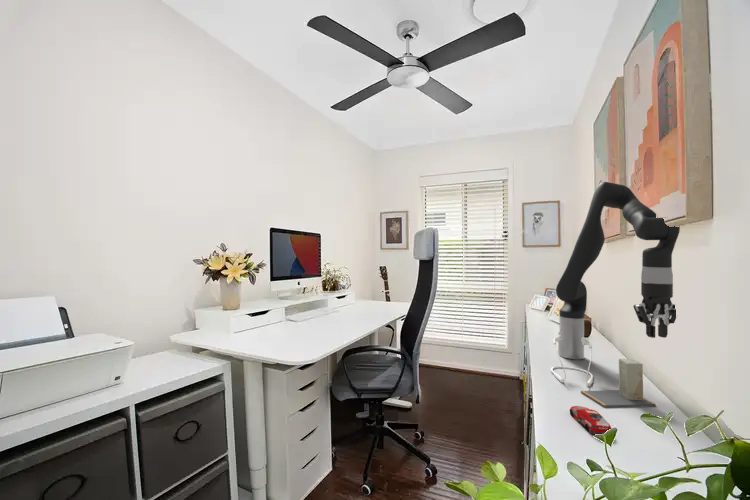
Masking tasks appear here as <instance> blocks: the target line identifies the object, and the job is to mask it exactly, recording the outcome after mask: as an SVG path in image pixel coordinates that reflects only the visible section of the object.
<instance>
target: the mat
mask: <svg viewBox="0 0 750 500" xmlns="http://www.w3.org/2000/svg"><path fill="white" fill-rule="evenodd" d="M580 393H581V394H582V395H583V396H585V397H586V398H588V399H589V400H592V401H593V402H594V403H596V404H598V405H599V406H601V407H603V408H629V407H631V408H632V407H633V408H635V407H638V408H639V407H656V403H655V402H653V401H651V400H649V399H647V398H645V397H644V396H643V400H628V399H627V398H625V397H624V396H622V395H621V394H620V393H619V389H615V390H612V389H611V390H606V389H605V390H580Z"/></svg>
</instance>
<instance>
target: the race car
mask: <svg viewBox="0 0 750 500" xmlns="http://www.w3.org/2000/svg"><path fill="white" fill-rule="evenodd" d="M569 414H570V416H571V417H572V418H573V419H575V420H576V421H577V422H578V423H579V424H580V425H581V426H582V427H583V428H584V429H585V431H587V432H588V433H589V434H593V435H594V434H604V433H605V432H606V431H607V430H609V429H612V427H611V425H610V423H609V422H608V421H607V420H606V419H605V418H604V416H603V415H601V413H599V412H598V411H597V410H595V409H593V408H592V409H591V408H589V407H585V406H579V405H573V406H571V407H570V409H569Z"/></svg>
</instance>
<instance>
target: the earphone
mask: <svg viewBox="0 0 750 500" xmlns="http://www.w3.org/2000/svg"><path fill="white" fill-rule="evenodd" d="M562 339H563V338H562V336H561V335H559V334H558V335H556V336H555V337H553V340H552V343H553V345H554V348H555V351H556V355H557V357H558V360H559V362H560V365H559V366H557V365H556V366H552V367H550V372H551V373H552V374H553V375H554V377H555V378H556V379H557V381H559V382H560V383H562V384H563V383H565V381H566V379H567V377H566V374H567V373H566V370H565V369H567V370H575V371H578V372H579V371H580V372H582V373H586V378H585V379H586V380H585V382H586V386H587V387H591V386H592V384H593V383H594V380H593V379H594V375H593V374H592V373H591V372H590V367H591V365H592V355H593V354H592V353H593V351H592V348H593V345H592V343H591V341H589V340H588V339H587V338H585V337H584V338H582V339H581V341H582V343H583V345H584V346H588V348H589V350H590V360H589V364H588V367H587V370H585V369H582V368H577V367H571V366H564V365H563V362H562V360H561V358H560V357H561V356H560V355H559V353H558V349H557V346H556V345H557V343H558V342H561V340H562ZM554 369H563V373H564V379H563V378H562V376H560V375H559V374H558V373H556V372H555V371H554ZM588 375H590V378H588V377H589V376H588Z"/></svg>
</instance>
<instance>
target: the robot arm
mask: <svg viewBox="0 0 750 500" xmlns="http://www.w3.org/2000/svg"><path fill="white" fill-rule="evenodd" d="M604 207H607V208H610V209H619V210H622V212H621V213H622V217H623V218H624V219H625V220H626V221H627V222H628V223H629V224H630V225H631V226H632V228H633V230H634V233H635V236H636V237H637V238H639V239H640V240H644V241H658V243H657V245H656V246H652V247H649V248H645V249H644V250H643V251H642V255H641V257H642V259H641V260H642V261H641V262H642V263H641V265H642V267H641V274H640V279H641V282H640V283H641V284H640V285H641V289H640V290H641V293H640V294H641V296H642V300H641V303H639V304H634V305H633V307H632V308H634V312H635V315H636V316H637V319H638V321H639V322H640V323H642V324H645V335H646V336H647V338H651V339H655V338H656V326H655V325H656V321H657V323H658V324H657V336H658V337H659V338H667V337H668V334H669V333H668V327H669V325H670V324H675V322H676V319H677V317H676V309H675V305H676V304H674V303H672V302H673V301H672V298H673V296H674V277H673V276H674V275H673V268H672V267H673V262H672V261H673V259H672V258H673V257H672V256H673V252H674V249H675V246H676V243H677V240H678V237H679V235H680V231H681V229H680V228H681V227H680V226H679V227H675V226H674V227H669V226H667V225H666V224H665V223H664V219H663V218H664V217H657V218H656V215H657V213H656V212H655V211H654V210H652V209H651V208H649V207H648V206H647V205H645V204H644V203H643V202H641V201H640V200H639V199H638V198H637V196H636V195H635V193H634V192H633V191H632V190H631V189H630V187H628V186H627V185H624V184H619V183H614V182H609V181H601V182H600V183H599V184H598V185H597V187H596V188H595V189H594V192H593V195H592V199H591V201H590V205H589V209H588V212H587V215H586V218H585V221H584V223H583V226H582V228H581V230H580V232H579V235H578V237H577V240H576V242H575V244H574V248H573V250H572V253H571V254H570V255H571V256H570V257H569V260H568V264H567V265H566V268H565V270H564V271H563V274H562V275H561V277H560V279H559V281H558V283H557V285H556V288H555V292H556V297H557V298H558V299H559V300H560V301H562V302H564V304H563V305H562V307H561V308H560V309H559V314H558V315H559V331H558V336H559V335H561V336H562V338H563V339H562V340H561V342H557V343H558V349H557V352H558V355H559V357H562V358H565V359H570V360H584V359H585V345H583V343H582V341H581V339H582V338H585V313H586V312H587V303H588V302H587V300H588V292H587V286H586V285H585V283H584V282H582V278H583V277H584V274H585V273H586V272H587V271H588V270H589V268H590V267H591V266H592V265H593V263H594V262H595V261H596V260H597V259H598V258H599V255H600V254H601V251H602V249H603V246H604V244H605V233H604V228H603V225H602V213H603V210H604Z"/></svg>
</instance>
